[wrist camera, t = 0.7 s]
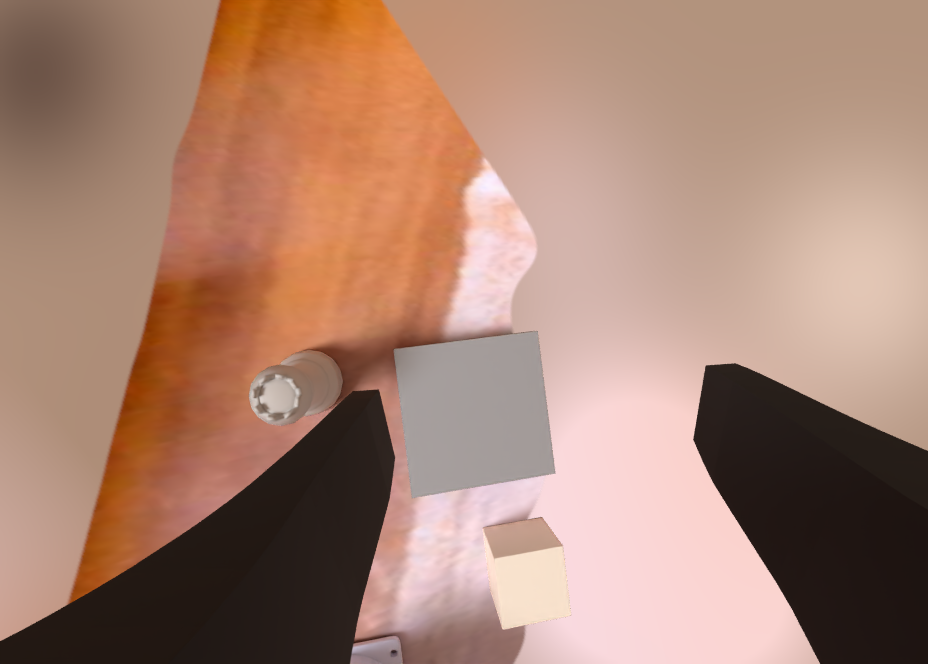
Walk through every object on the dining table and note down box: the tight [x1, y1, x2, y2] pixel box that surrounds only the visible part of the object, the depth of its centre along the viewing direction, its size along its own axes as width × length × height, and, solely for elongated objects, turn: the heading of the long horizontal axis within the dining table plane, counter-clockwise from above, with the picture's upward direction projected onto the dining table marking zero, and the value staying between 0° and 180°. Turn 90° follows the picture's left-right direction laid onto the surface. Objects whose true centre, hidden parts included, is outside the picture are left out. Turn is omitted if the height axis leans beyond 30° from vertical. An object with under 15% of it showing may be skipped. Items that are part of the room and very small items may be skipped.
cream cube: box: [483, 517, 571, 630], centre depth 30 cm, size 4×4×4 cm
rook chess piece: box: [249, 350, 343, 426], centre depth 26 cm, size 4×4×8 cm
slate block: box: [393, 331, 555, 498], centre depth 31 cm, size 10×10×2 cm
